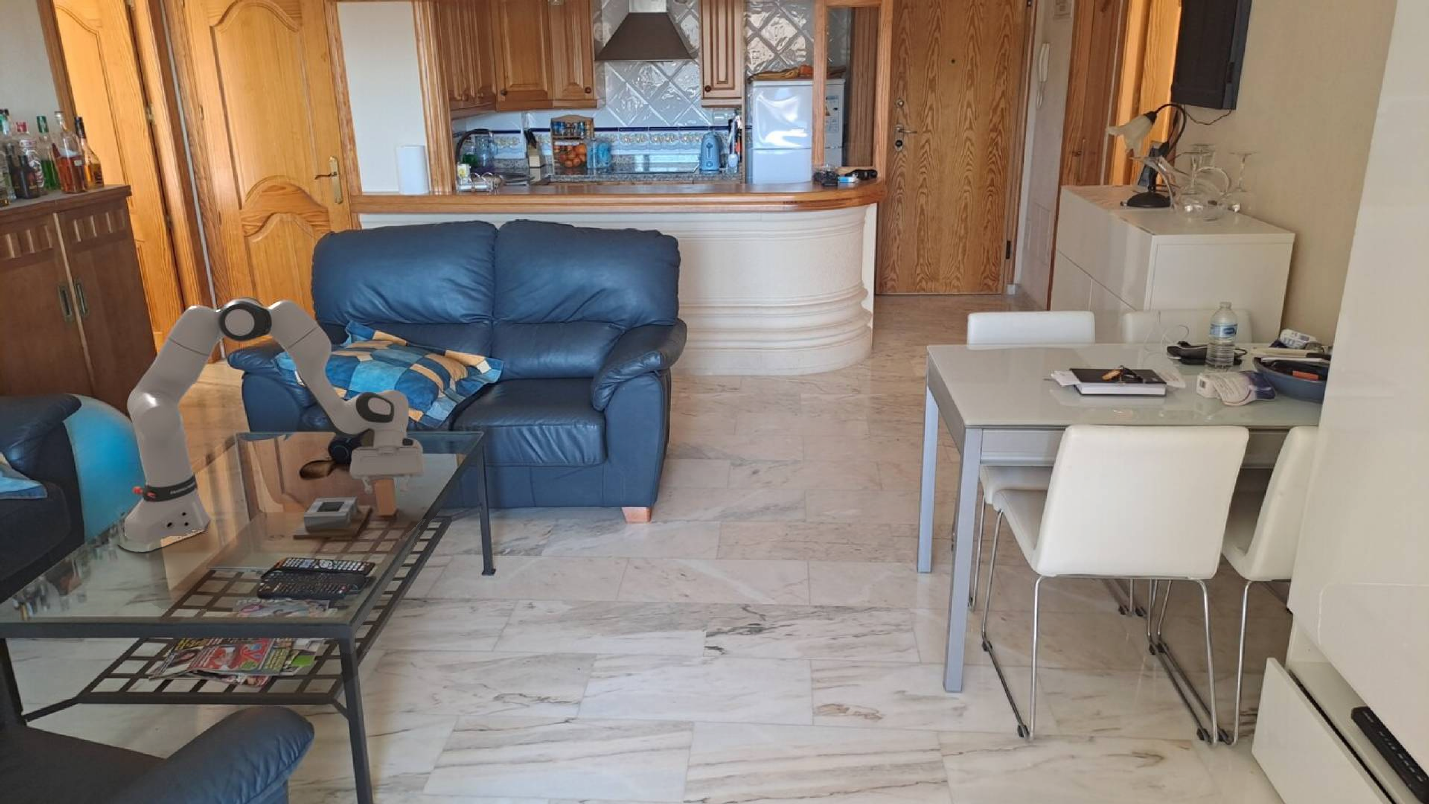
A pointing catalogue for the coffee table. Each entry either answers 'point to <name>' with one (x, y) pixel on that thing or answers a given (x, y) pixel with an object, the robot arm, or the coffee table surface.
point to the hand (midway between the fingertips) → (385, 491)
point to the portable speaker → (349, 445)
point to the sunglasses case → (318, 465)
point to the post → (385, 497)
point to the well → (332, 518)
